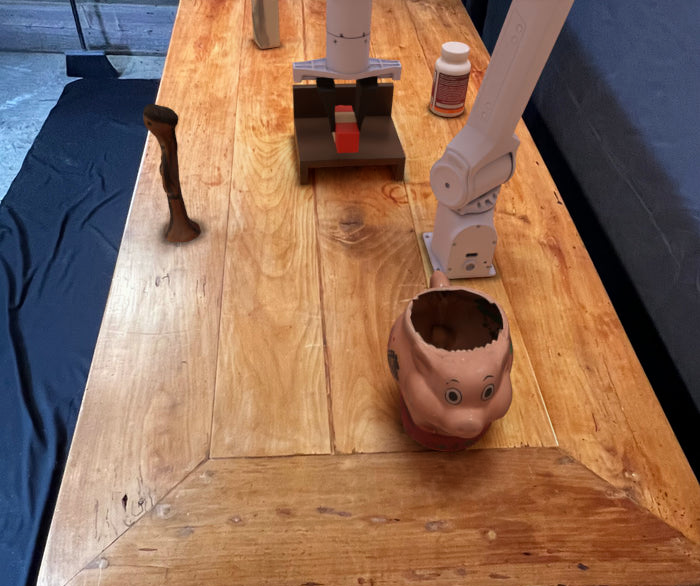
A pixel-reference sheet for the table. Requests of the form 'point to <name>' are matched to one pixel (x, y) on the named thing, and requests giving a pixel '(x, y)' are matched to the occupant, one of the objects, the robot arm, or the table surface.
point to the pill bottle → (450, 80)
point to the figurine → (170, 172)
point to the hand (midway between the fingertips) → (344, 128)
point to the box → (266, 23)
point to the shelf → (317, 140)
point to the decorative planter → (451, 364)
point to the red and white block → (346, 130)
